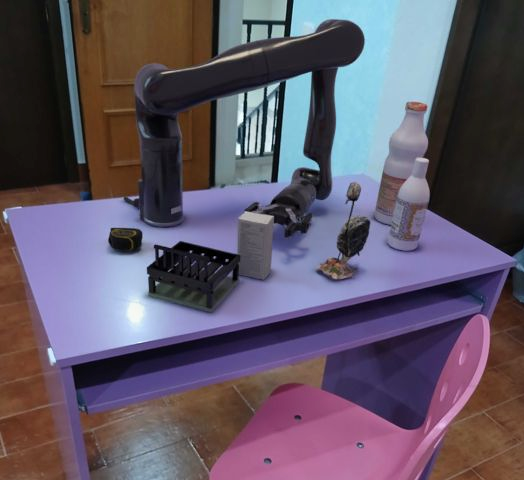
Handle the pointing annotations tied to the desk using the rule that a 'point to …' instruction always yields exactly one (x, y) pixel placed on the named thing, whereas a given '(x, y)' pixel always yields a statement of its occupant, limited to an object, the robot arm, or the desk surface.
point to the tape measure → (125, 239)
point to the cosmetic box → (255, 244)
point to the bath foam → (410, 209)
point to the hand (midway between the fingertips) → (267, 229)
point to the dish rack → (192, 275)
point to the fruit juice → (401, 159)
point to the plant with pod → (348, 240)
